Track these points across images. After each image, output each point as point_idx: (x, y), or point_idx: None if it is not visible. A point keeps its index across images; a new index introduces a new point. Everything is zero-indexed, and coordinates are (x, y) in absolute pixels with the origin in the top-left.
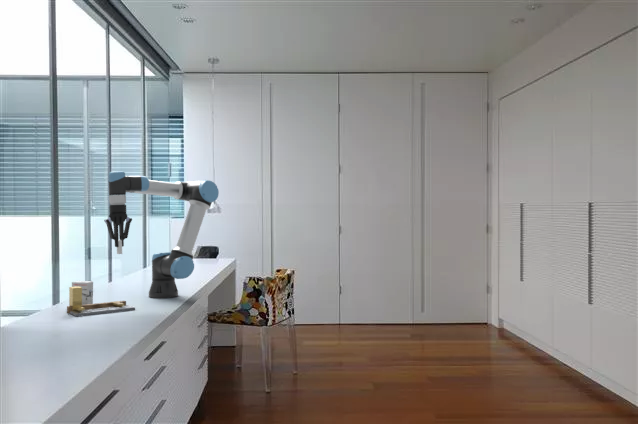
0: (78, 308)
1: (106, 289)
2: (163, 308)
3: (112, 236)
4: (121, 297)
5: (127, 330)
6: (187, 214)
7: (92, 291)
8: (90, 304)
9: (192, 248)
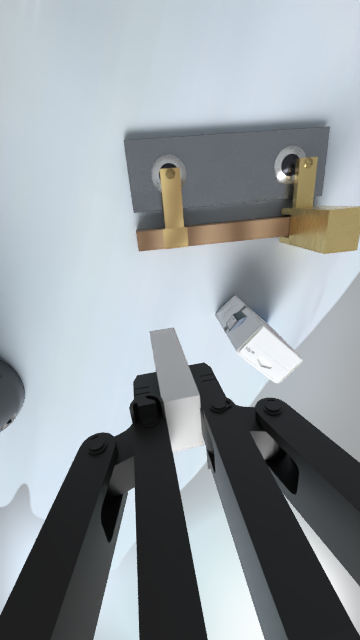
0: (317, 160)
1: None
2: (10, 107)
3: (296, 420)
4: (105, 417)
5: None
6: None
7: (229, 330)
8: (257, 227)
9: None
